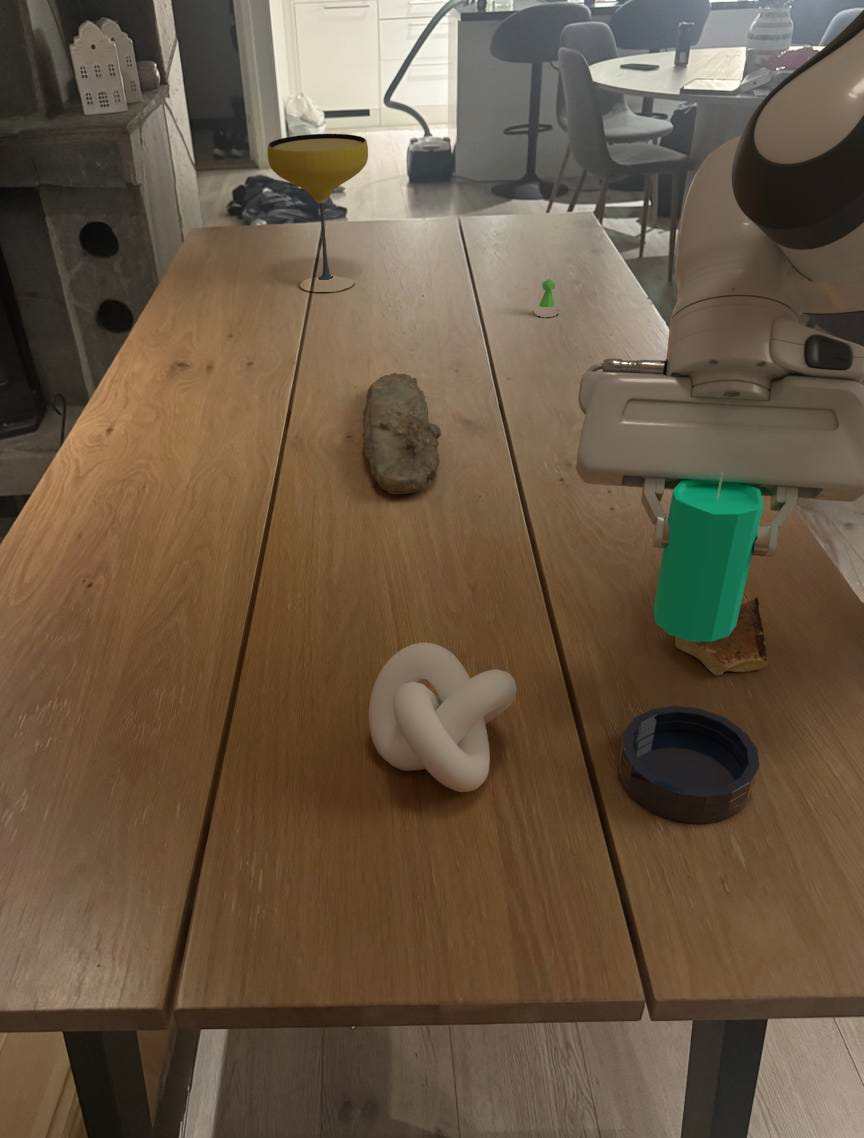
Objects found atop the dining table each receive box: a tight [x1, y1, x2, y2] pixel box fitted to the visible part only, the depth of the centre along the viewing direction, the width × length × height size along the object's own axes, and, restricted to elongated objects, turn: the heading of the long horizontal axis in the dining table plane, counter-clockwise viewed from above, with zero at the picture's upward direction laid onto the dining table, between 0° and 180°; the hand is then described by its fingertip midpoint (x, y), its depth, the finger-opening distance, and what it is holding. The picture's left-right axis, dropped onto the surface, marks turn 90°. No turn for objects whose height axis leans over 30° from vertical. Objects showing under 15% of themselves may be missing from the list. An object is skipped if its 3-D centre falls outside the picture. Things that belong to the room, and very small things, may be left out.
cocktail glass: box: [267, 133, 369, 280], centre depth 179 cm, size 18×18×25 cm
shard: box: [674, 597, 769, 676], centre depth 89 cm, size 11×8×2 cm
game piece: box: [538, 278, 556, 307], centre depth 166 cm, size 4×4×6 cm
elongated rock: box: [362, 372, 442, 495], centre depth 127 cm, size 35×5×10 cm
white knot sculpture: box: [368, 642, 518, 793], centre depth 77 cm, size 11×12×9 cm
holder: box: [618, 705, 760, 825], centre depth 76 cm, size 10×10×3 cm
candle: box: [652, 473, 764, 642], centre depth 68 cm, size 6×6×12 cm
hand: (713, 550), depth 67 cm, fingers closed on candle, 5 cm apart
